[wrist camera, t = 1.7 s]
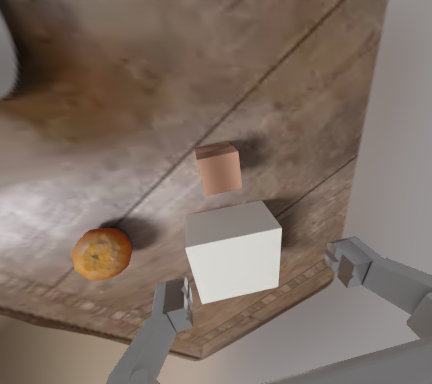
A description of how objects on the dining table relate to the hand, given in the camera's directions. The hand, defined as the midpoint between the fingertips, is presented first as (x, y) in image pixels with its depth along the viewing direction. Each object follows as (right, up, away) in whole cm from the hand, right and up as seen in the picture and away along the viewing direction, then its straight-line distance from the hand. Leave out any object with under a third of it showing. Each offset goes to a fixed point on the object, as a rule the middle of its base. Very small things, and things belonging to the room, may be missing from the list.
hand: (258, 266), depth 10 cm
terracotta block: (-3, +9, +17) cm, 20 cm away
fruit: (-21, -4, +21) cm, 30 cm away
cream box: (0, -5, +25) cm, 25 cm away
